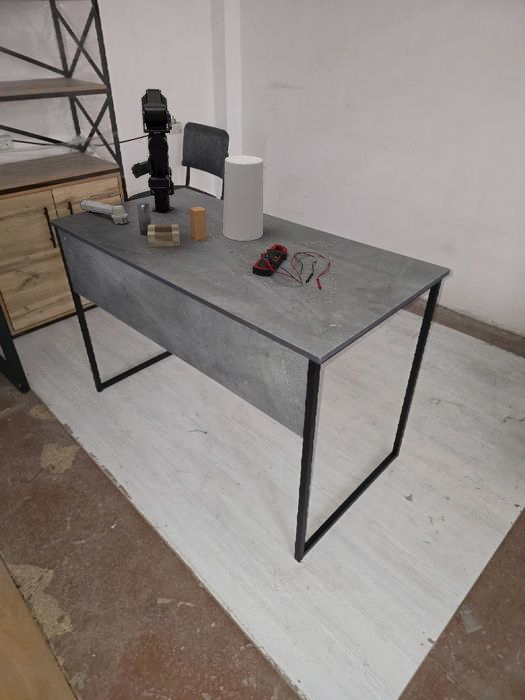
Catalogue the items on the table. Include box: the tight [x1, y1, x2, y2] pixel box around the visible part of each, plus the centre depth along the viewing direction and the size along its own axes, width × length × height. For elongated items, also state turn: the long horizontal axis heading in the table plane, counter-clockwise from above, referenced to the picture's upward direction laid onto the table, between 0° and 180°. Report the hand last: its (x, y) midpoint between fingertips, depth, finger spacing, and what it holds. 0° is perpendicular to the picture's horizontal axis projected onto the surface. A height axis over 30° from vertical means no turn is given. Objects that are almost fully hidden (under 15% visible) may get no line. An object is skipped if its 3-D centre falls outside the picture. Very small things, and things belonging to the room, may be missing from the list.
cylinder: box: [222, 154, 264, 242], centre depth 157 cm, size 14×25×14 cm
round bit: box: [136, 202, 152, 237], centre depth 157 cm, size 4×4×10 cm
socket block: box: [147, 223, 181, 248], centre depth 154 cm, size 10×10×4 cm
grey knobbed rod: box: [79, 199, 129, 225], centre depth 172 cm, size 5×7×25 cm
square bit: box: [188, 206, 207, 241], centre depth 156 cm, size 4×4×10 cm
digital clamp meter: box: [252, 244, 331, 292], centre depth 140 cm, size 23×4×25 cm
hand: (162, 204), depth 149 cm, fingers open, 9 cm apart
